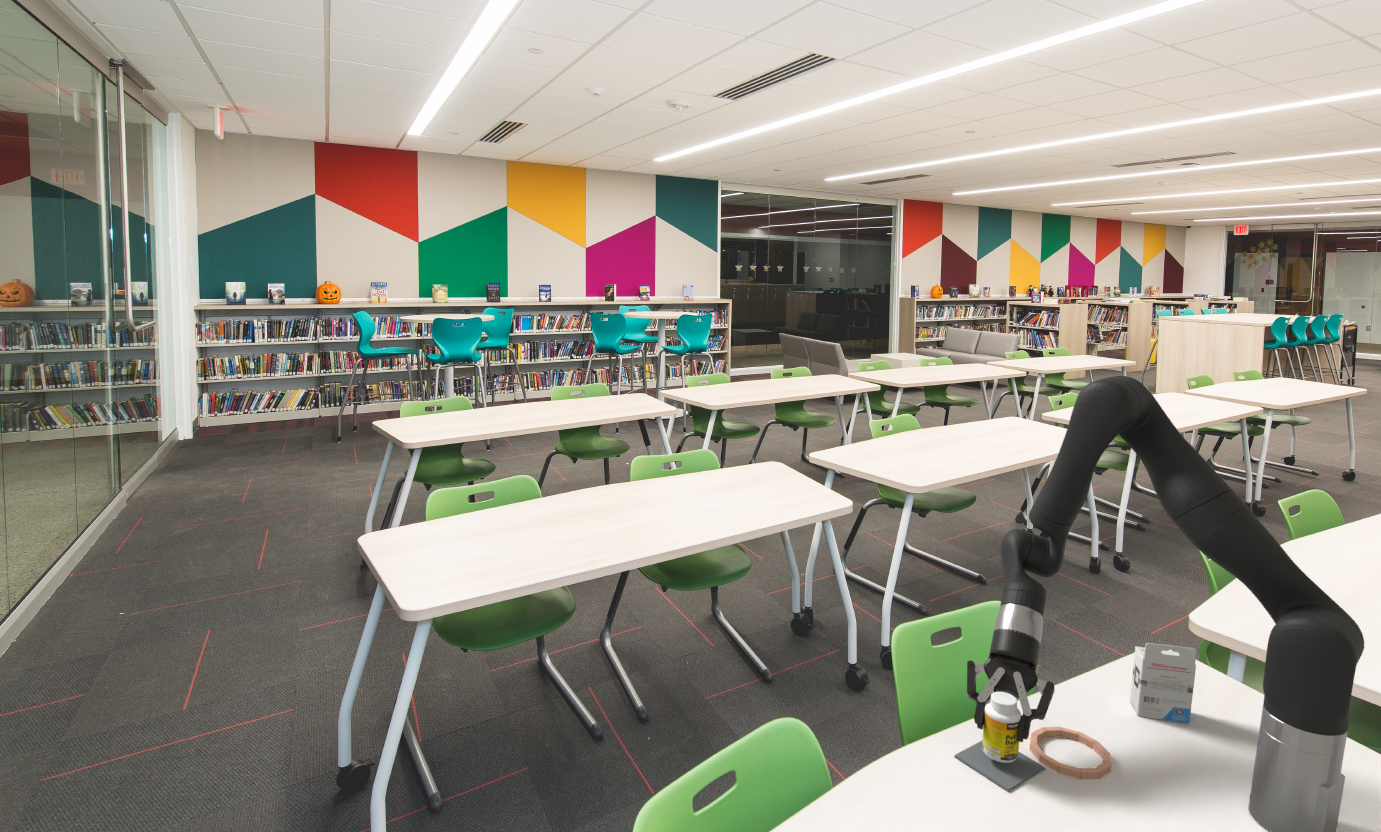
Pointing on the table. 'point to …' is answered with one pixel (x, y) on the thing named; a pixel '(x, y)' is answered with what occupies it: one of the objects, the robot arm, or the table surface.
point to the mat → (1000, 767)
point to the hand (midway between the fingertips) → (999, 733)
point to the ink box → (1163, 682)
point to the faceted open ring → (1066, 769)
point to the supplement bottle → (1001, 728)
